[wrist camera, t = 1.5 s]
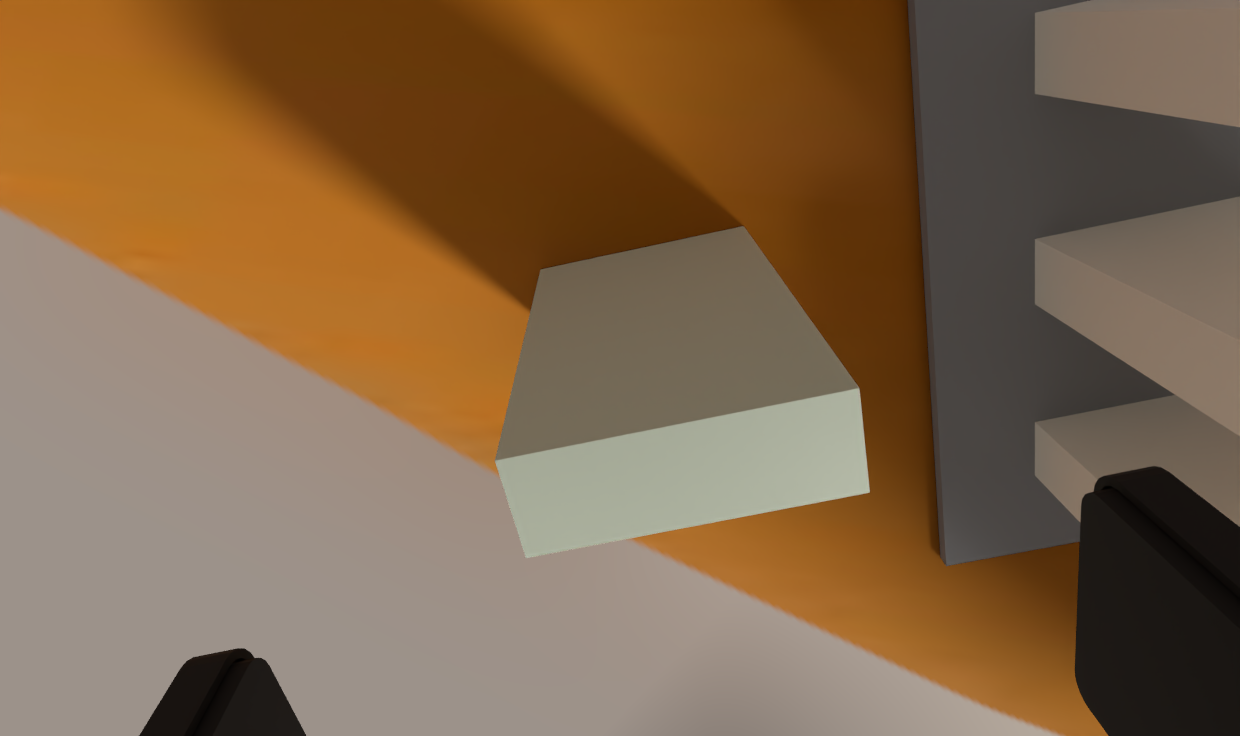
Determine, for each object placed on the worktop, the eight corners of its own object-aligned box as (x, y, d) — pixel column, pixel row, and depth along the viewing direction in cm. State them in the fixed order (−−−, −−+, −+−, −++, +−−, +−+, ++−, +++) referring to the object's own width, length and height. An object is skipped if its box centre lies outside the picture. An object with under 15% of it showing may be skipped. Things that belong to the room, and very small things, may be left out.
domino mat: (1296, 491, 27) (1308, 499, 26) (940, 556, 27) (946, 566, 27) (1449, -486, 17) (1473, -500, 16) (887, -342, 18) (895, -352, 17)
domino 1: (753, 291, 23) (869, 492, 13) (556, 331, 24) (525, 558, 14) (743, 226, 23) (859, 388, 13) (540, 269, 23) (495, 460, 13)
